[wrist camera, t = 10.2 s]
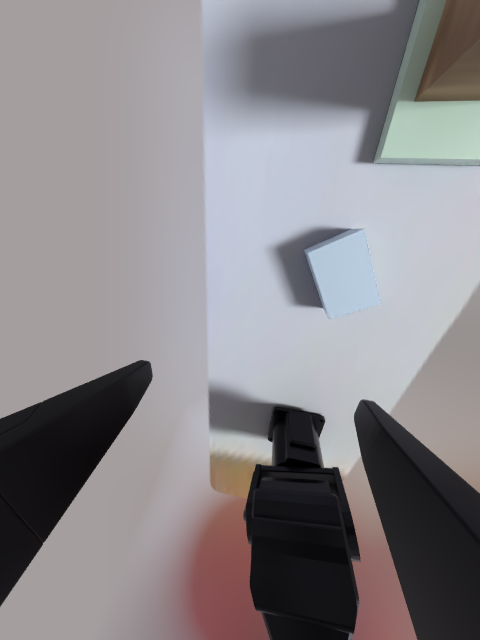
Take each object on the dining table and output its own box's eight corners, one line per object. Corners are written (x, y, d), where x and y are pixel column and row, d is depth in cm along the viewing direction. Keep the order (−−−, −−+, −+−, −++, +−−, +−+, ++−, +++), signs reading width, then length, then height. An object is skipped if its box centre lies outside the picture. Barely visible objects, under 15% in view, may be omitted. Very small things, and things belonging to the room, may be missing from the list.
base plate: (483, 165, 13) (501, 159, 12) (373, 163, 14) (380, 157, 13) (610, -100, 9) (653, -143, 8) (441, -78, 10) (460, -114, 9)
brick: (366, 292, 18) (381, 303, 16) (322, 307, 20) (329, 319, 17) (350, 228, 17) (364, 228, 14) (303, 249, 18) (307, 253, 15)
